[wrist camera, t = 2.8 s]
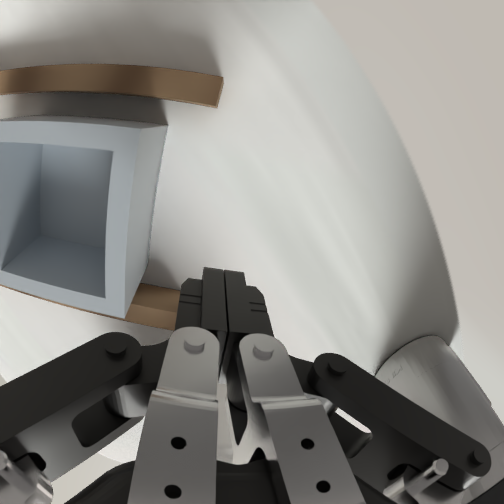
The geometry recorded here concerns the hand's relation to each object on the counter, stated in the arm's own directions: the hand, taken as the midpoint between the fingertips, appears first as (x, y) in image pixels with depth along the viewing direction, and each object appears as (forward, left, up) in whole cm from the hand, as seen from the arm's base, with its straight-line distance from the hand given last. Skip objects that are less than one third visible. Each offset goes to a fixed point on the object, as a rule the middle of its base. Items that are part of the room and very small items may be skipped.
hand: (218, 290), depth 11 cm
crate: (+9, -1, -8) cm, 12 cm away
